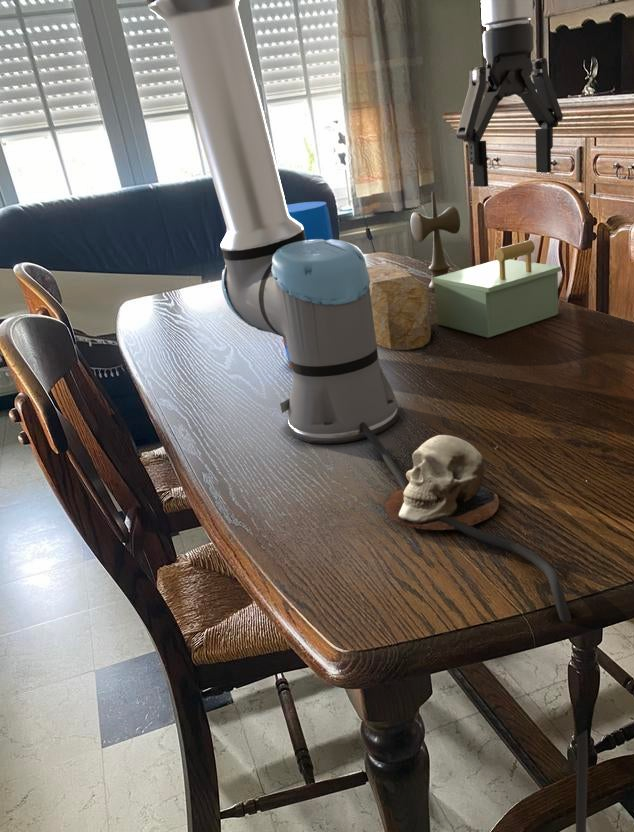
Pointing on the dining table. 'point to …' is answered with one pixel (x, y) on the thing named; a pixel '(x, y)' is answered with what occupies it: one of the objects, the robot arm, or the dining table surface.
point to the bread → (398, 308)
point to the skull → (443, 487)
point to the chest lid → (500, 270)
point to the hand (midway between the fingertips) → (513, 179)
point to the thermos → (311, 227)
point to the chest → (496, 306)
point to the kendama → (435, 234)
